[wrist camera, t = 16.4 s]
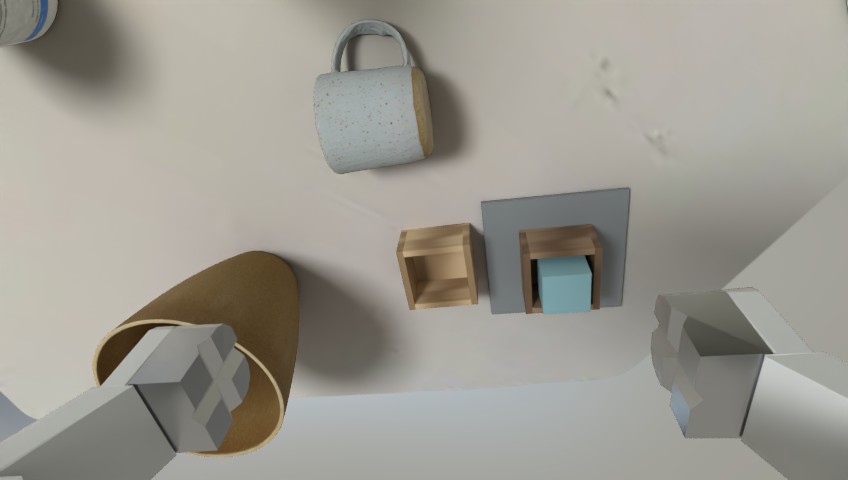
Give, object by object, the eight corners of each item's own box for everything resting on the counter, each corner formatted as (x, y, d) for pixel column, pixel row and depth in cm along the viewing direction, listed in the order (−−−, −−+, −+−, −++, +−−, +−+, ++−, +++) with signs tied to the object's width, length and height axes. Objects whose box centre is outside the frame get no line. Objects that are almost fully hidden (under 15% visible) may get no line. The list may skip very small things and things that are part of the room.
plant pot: (355, 316, 53) (315, 444, 39) (238, 342, 56) (164, 468, 42) (294, 198, 46) (220, 303, 32) (166, 236, 49) (49, 345, 35)
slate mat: (628, 187, 42) (629, 189, 42) (620, 303, 49) (621, 306, 48) (481, 201, 44) (481, 203, 44) (491, 311, 51) (491, 314, 50)
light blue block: (578, 240, 44) (591, 273, 40) (577, 275, 46) (590, 311, 42) (534, 243, 45) (542, 277, 40) (535, 278, 47) (543, 314, 42)
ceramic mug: (439, 142, 42) (434, 175, 35) (349, 155, 43) (327, 189, 36) (418, 9, 37) (407, 18, 30) (317, 28, 38) (284, 40, 31)
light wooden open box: (469, 221, 46) (469, 244, 42) (477, 278, 49) (478, 304, 45) (401, 229, 47) (396, 252, 43) (414, 284, 50) (409, 309, 46)
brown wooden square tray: (591, 223, 44) (602, 247, 40) (589, 282, 47) (599, 309, 44) (518, 230, 45) (523, 254, 41) (521, 287, 48) (526, 313, 45)
